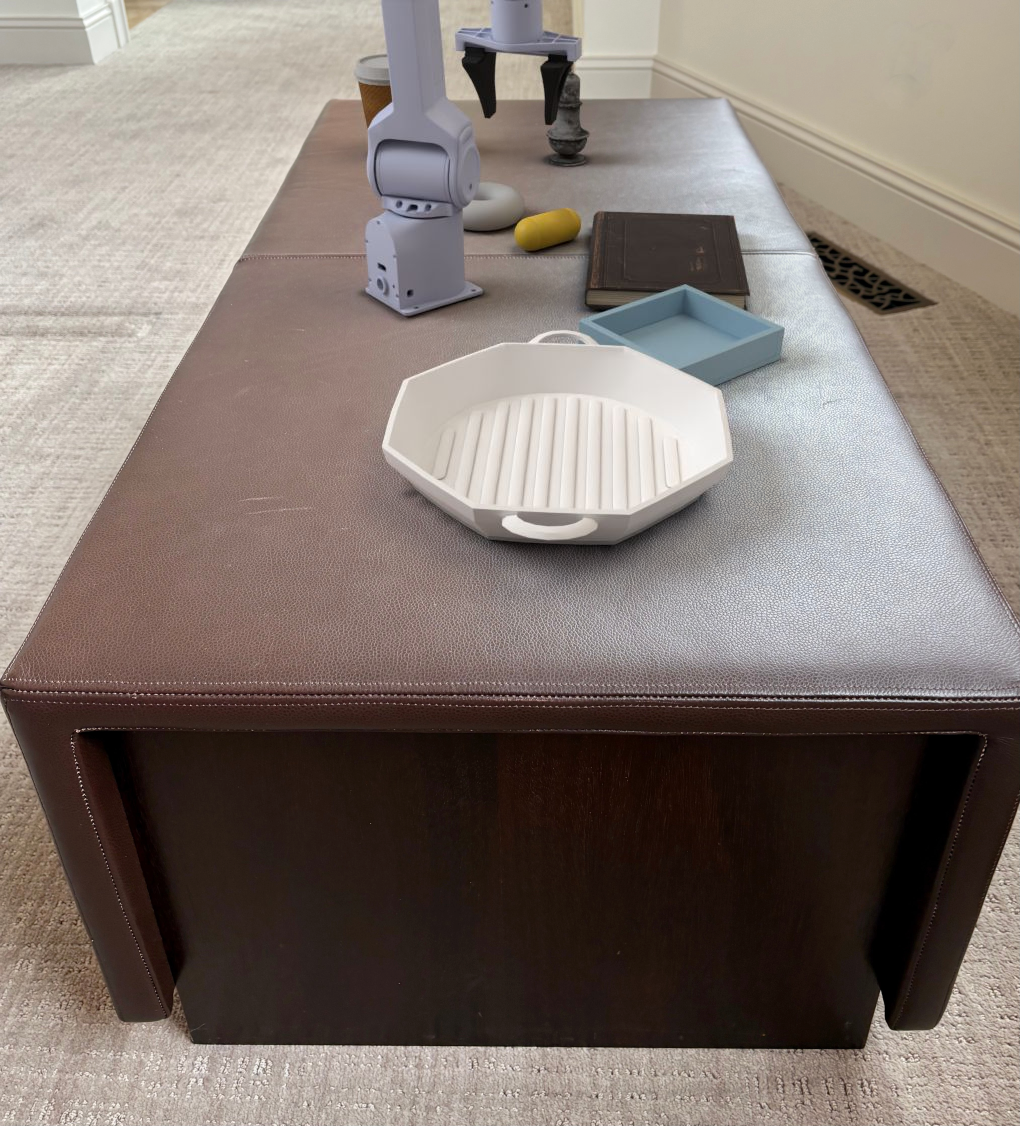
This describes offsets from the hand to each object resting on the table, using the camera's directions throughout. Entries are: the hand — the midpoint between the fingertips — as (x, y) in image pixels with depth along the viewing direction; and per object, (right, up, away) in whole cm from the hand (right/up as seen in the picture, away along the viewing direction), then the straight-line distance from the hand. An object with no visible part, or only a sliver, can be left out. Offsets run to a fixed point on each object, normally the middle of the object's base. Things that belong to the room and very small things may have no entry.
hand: (520, 118), depth 125 cm
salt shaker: (+7, +3, +21) cm, 22 cm away
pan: (+2, -45, -42) cm, 62 cm away
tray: (+14, -33, -27) cm, 45 cm away
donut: (-4, -12, +2) cm, 13 cm away
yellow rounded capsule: (+3, -16, -5) cm, 17 cm away
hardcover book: (+15, -21, -11) cm, 28 cm away
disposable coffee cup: (-17, +5, +23) cm, 29 cm away
